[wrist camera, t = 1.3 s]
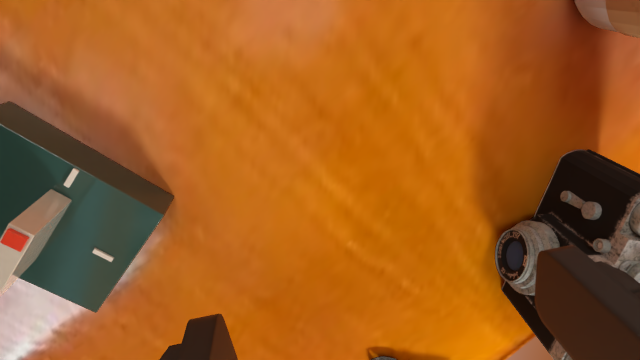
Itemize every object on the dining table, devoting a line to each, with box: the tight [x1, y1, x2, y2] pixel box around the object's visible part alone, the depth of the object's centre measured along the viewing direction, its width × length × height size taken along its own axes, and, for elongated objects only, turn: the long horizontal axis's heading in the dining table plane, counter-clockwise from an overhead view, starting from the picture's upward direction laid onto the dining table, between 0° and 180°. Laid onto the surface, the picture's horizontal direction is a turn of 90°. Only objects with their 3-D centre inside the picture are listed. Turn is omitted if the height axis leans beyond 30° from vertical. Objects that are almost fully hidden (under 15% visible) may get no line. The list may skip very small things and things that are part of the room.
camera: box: [495, 149, 640, 360], centre depth 30 cm, size 15×7×10 cm, turn 169°
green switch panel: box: [0, 101, 174, 313], centre depth 29 cm, size 12×10×3 cm
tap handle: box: [0, 189, 72, 297], centre depth 25 cm, size 6×1×5 cm, turn 142°
